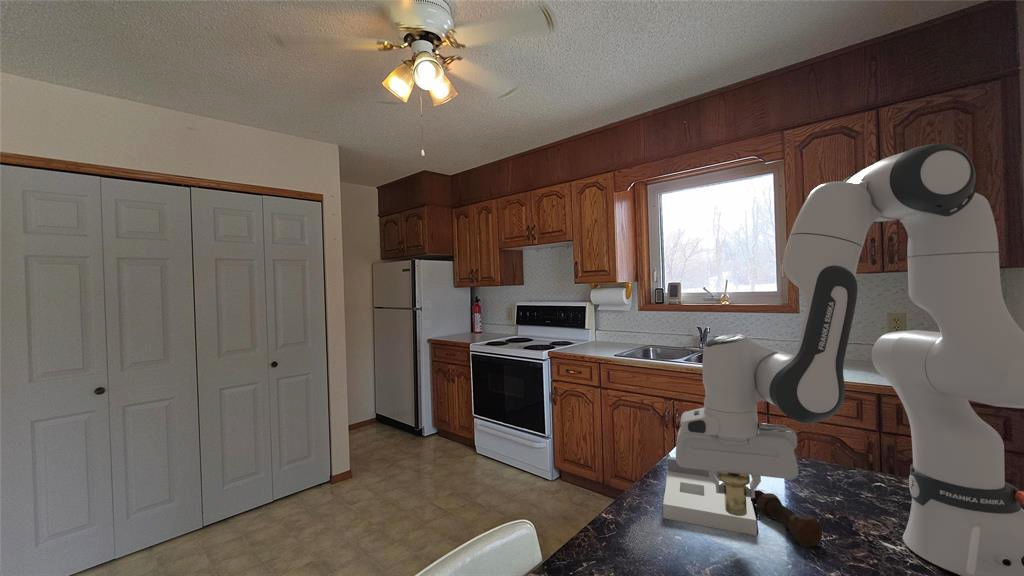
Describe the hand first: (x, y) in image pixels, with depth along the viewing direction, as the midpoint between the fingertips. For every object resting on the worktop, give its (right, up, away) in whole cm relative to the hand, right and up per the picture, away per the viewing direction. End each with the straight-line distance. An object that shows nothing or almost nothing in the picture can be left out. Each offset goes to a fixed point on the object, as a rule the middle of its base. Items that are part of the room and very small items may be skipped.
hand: (734, 494), depth 79 cm
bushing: (0, -3, 0) cm, 3 cm away
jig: (+1, -9, +13) cm, 16 cm away
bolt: (+12, -9, +6) cm, 17 cm away
